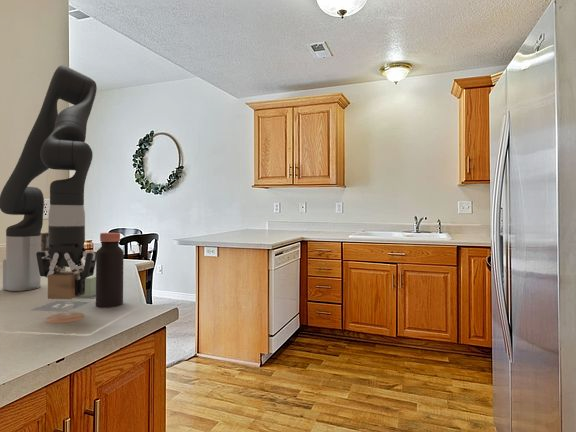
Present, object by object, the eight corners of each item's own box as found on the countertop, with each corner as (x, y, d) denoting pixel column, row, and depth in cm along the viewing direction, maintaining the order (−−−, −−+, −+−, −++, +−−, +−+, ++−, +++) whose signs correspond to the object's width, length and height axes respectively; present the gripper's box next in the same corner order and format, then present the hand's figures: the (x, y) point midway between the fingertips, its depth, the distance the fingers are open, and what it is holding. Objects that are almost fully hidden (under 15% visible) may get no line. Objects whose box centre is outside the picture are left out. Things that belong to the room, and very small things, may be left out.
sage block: (72, 296, 110) (72, 277, 110) (84, 292, 115) (84, 274, 115) (90, 297, 110) (90, 278, 109) (101, 292, 115) (101, 275, 115)
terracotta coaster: (37, 323, 85) (37, 321, 85) (60, 314, 93) (60, 311, 93) (70, 325, 85) (70, 322, 85) (91, 315, 93) (91, 312, 93)
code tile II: (60, 299, 108) (60, 297, 108) (81, 291, 118) (81, 290, 118) (93, 300, 107) (93, 299, 107) (112, 292, 117) (112, 291, 117)
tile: (29, 311, 95) (29, 310, 95) (56, 302, 105) (56, 300, 105) (67, 313, 94) (67, 311, 94) (90, 303, 104) (90, 301, 104)
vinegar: (90, 306, 101) (91, 233, 101) (114, 301, 106) (115, 232, 106) (103, 310, 97) (104, 234, 97) (128, 305, 103) (128, 233, 102)
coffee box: (66, 272, 152) (66, 232, 152) (49, 274, 147) (49, 233, 146) (55, 269, 157) (55, 231, 157) (38, 271, 151) (38, 232, 151)
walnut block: (63, 293, 92) (63, 271, 92) (84, 293, 91) (84, 271, 91) (47, 298, 86) (47, 275, 86) (70, 299, 86) (70, 275, 86)
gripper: (104, 224, 92) (104, 292, 92) (49, 223, 93) (49, 290, 93) (86, 225, 84) (86, 299, 85) (26, 224, 85) (26, 297, 86)
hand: (66, 294), depth 89 cm, fingers closed on walnut block, 5 cm apart
